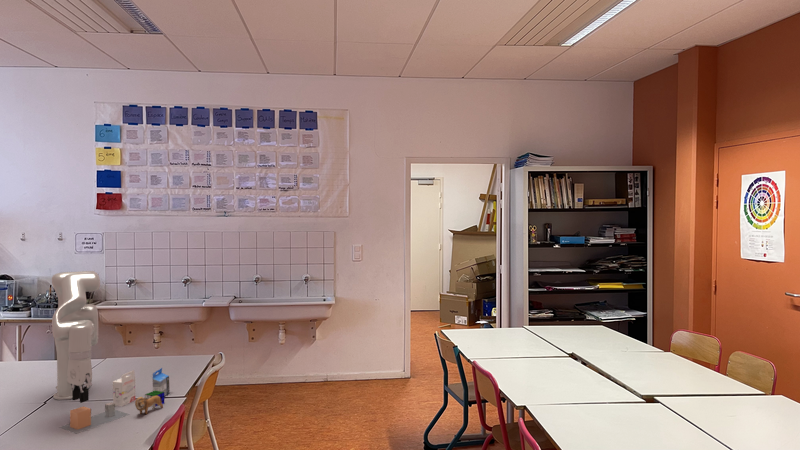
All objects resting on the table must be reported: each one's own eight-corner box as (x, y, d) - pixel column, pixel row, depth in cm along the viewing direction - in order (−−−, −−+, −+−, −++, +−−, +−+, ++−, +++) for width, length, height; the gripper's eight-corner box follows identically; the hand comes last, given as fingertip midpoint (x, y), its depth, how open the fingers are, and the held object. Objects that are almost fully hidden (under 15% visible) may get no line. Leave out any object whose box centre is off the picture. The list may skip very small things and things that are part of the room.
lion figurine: (141, 420, 211) (141, 399, 211) (131, 419, 213) (131, 398, 213) (166, 407, 226) (166, 387, 225) (156, 406, 227) (156, 386, 227)
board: (59, 429, 202) (59, 427, 202) (113, 410, 222) (113, 409, 222) (76, 435, 197) (76, 433, 197) (130, 416, 216) (130, 414, 216)
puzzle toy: (155, 402, 232) (155, 390, 232) (164, 404, 230) (164, 392, 230) (144, 406, 227) (144, 394, 227) (154, 408, 225) (154, 396, 224)
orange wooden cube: (70, 426, 203) (70, 410, 203) (83, 422, 207) (83, 406, 207) (77, 429, 200) (77, 413, 200) (90, 424, 205) (90, 408, 205)
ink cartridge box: (126, 400, 234) (126, 368, 234) (135, 401, 233) (135, 369, 233) (112, 407, 226) (112, 374, 225) (122, 408, 225) (121, 375, 224)
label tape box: (160, 399, 236) (160, 373, 235) (152, 399, 236) (152, 373, 235) (169, 393, 244) (169, 367, 244) (161, 392, 244) (161, 367, 244)
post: (105, 416, 214) (105, 404, 214) (111, 414, 216) (111, 402, 216) (108, 417, 213) (108, 405, 213) (114, 415, 215) (114, 403, 215)
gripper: (58, 354, 204) (59, 399, 205) (82, 360, 196) (82, 407, 196) (78, 350, 211) (78, 393, 211) (102, 355, 203) (102, 401, 203)
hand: (80, 399), depth 204 cm, fingers open, 4 cm apart
